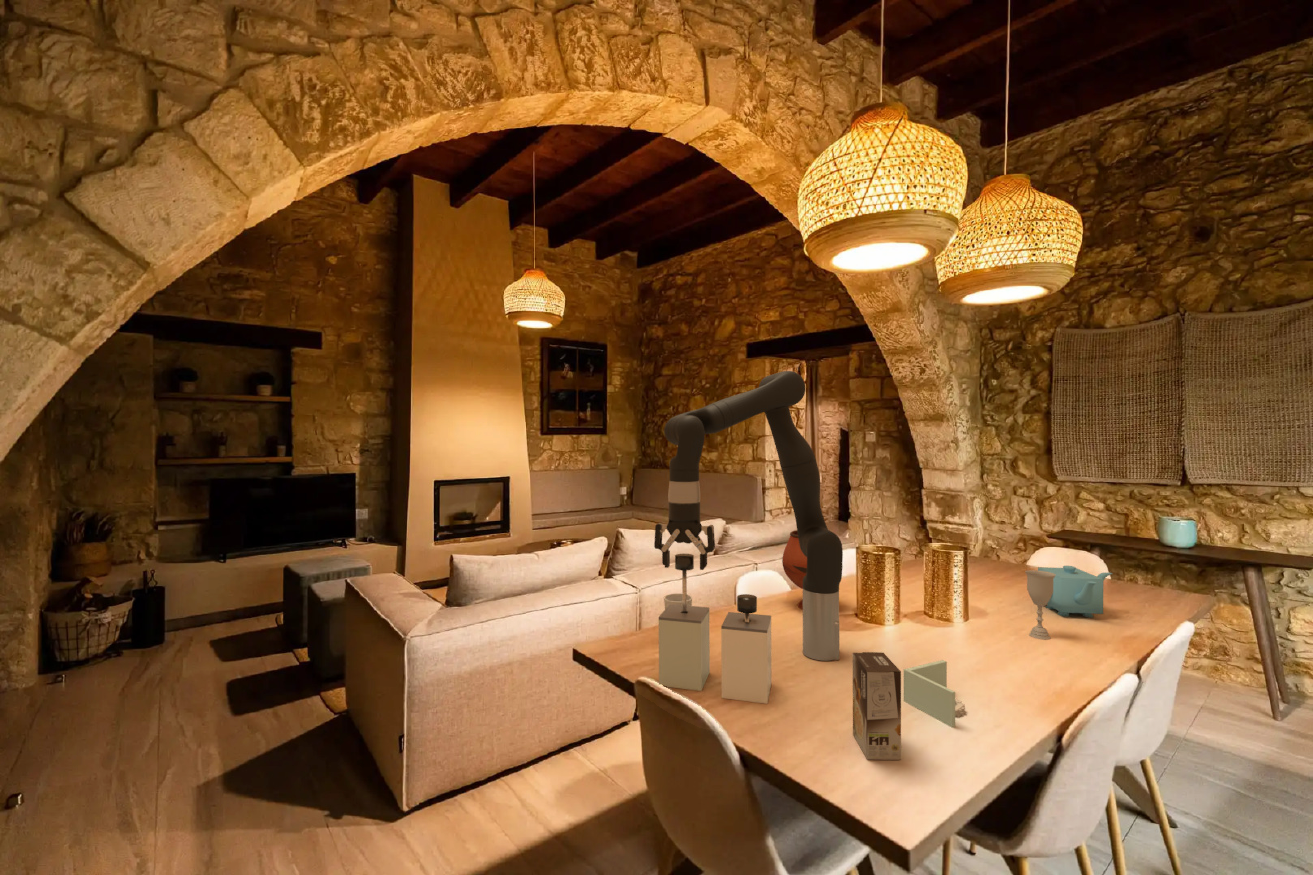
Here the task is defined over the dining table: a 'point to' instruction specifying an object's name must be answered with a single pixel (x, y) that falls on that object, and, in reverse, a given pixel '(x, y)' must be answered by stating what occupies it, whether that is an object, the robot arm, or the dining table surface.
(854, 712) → the coffee box
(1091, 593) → the teakettle
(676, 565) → the plunger
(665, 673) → the block
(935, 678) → the l-shaped corner panel
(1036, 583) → the chalice
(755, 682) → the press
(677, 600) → the cup
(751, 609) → the plunger
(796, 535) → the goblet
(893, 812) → the dining table surface
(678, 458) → the robot arm
